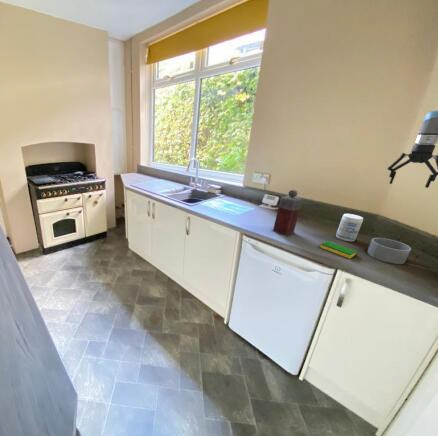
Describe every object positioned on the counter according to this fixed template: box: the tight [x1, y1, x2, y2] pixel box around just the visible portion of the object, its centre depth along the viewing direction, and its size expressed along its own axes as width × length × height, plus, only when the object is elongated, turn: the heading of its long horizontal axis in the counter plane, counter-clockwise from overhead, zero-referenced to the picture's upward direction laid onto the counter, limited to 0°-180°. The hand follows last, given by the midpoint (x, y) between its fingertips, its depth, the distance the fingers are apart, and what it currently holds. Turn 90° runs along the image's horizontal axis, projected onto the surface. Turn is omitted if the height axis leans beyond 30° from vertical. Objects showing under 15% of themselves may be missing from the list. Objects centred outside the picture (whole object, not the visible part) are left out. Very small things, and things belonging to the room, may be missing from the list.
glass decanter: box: [272, 189, 304, 237], centre depth 147 cm, size 9×11×28 cm
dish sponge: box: [320, 240, 357, 259], centre depth 128 cm, size 7×14×2 cm, turn 32°
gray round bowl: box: [367, 237, 412, 265], centre depth 122 cm, size 15×15×8 cm
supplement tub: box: [335, 213, 364, 242], centre depth 141 cm, size 10×10×15 cm
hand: (407, 185), depth 127 cm, fingers open, 13 cm apart
